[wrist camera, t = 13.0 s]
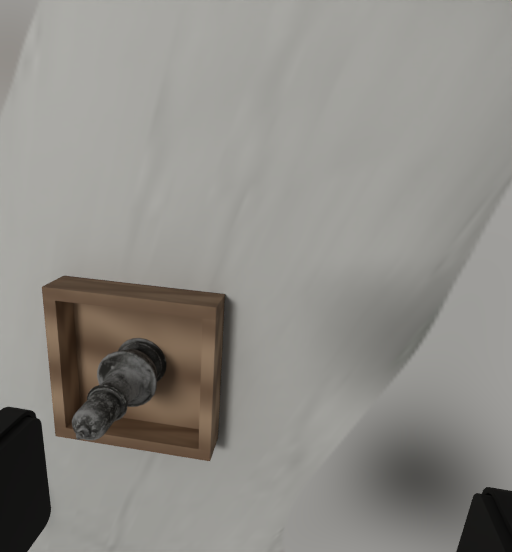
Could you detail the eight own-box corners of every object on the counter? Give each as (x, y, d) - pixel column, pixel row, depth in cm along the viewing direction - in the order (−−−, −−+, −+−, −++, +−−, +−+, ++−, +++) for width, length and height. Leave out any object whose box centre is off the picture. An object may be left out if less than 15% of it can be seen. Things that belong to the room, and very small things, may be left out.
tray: (63, 275, 42) (41, 286, 39) (224, 294, 40) (216, 307, 37) (74, 415, 47) (55, 436, 44) (218, 437, 45) (209, 461, 42)
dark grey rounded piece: (171, 388, 43) (118, 474, 32) (118, 385, 44) (47, 468, 33) (166, 336, 41) (108, 407, 30) (111, 334, 42) (34, 402, 31)
